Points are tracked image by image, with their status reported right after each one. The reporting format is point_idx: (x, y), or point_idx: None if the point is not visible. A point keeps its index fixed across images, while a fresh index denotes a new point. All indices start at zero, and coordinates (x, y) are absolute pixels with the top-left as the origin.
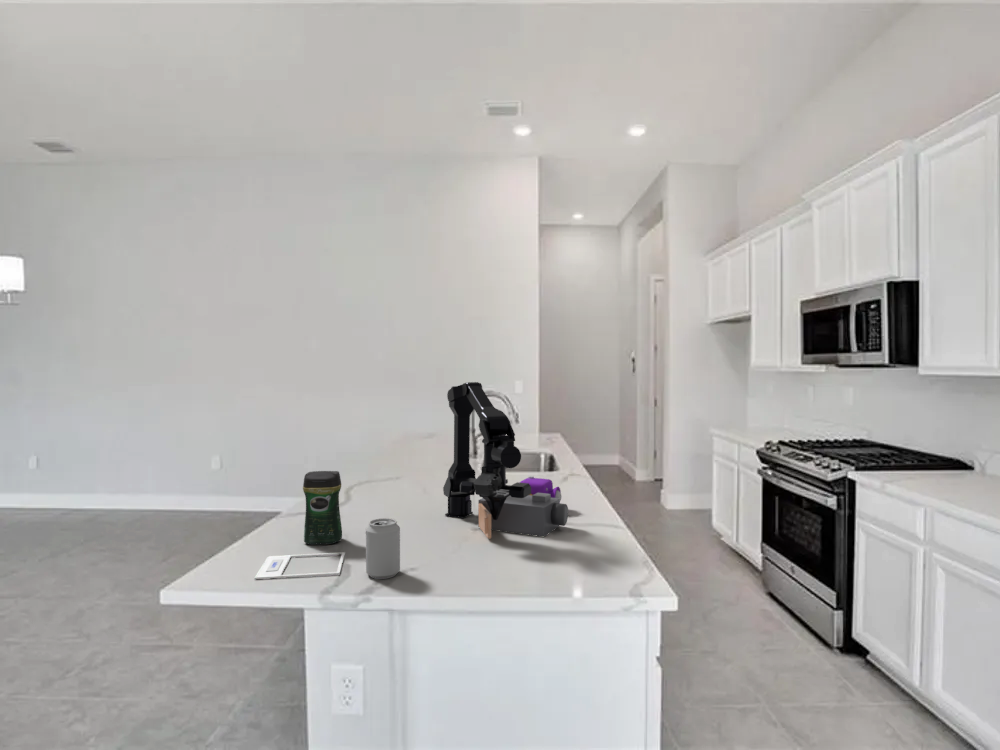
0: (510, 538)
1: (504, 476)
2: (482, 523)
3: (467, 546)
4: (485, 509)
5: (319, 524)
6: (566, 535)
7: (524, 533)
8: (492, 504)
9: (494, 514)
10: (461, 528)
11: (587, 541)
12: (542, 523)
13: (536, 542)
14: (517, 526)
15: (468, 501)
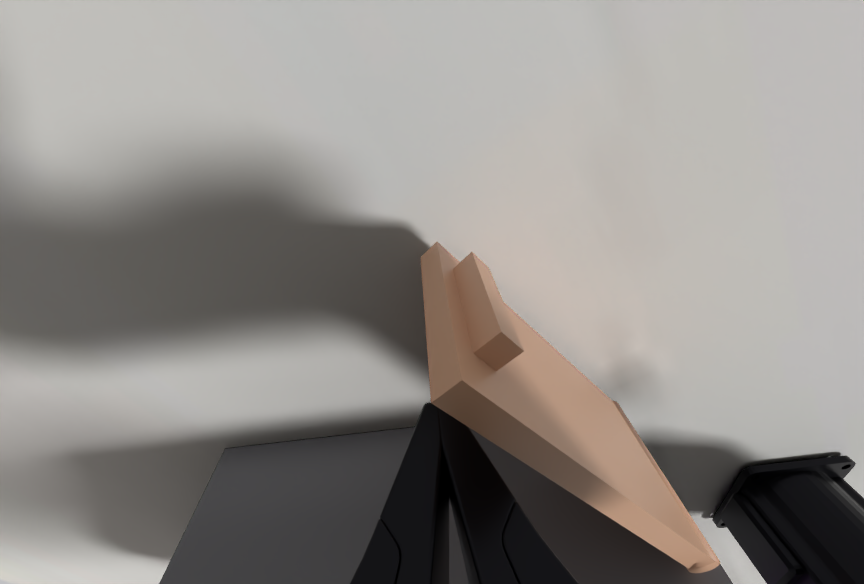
0: (355, 356)
1: None
2: (579, 389)
3: (527, 19)
4: (595, 494)
5: None
6: (169, 503)
7: (337, 440)
8: (476, 576)
9: (438, 443)
10: (713, 358)
11: (17, 490)
12: (198, 525)
13: (179, 372)
14: (376, 466)
15: (787, 576)
